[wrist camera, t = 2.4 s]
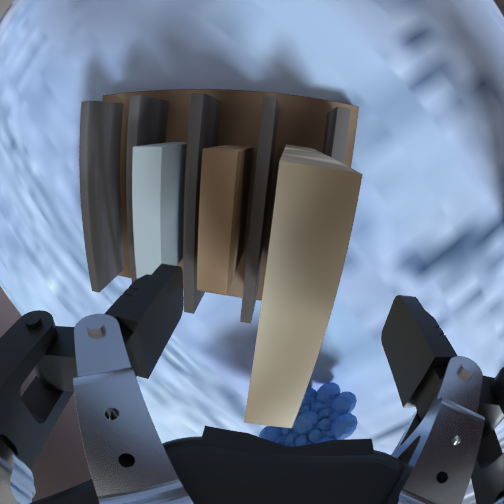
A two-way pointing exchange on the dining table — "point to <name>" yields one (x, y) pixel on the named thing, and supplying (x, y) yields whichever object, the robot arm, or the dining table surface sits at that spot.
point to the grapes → (318, 418)
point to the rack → (196, 169)
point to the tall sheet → (300, 279)
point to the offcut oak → (222, 215)
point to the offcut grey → (158, 204)
